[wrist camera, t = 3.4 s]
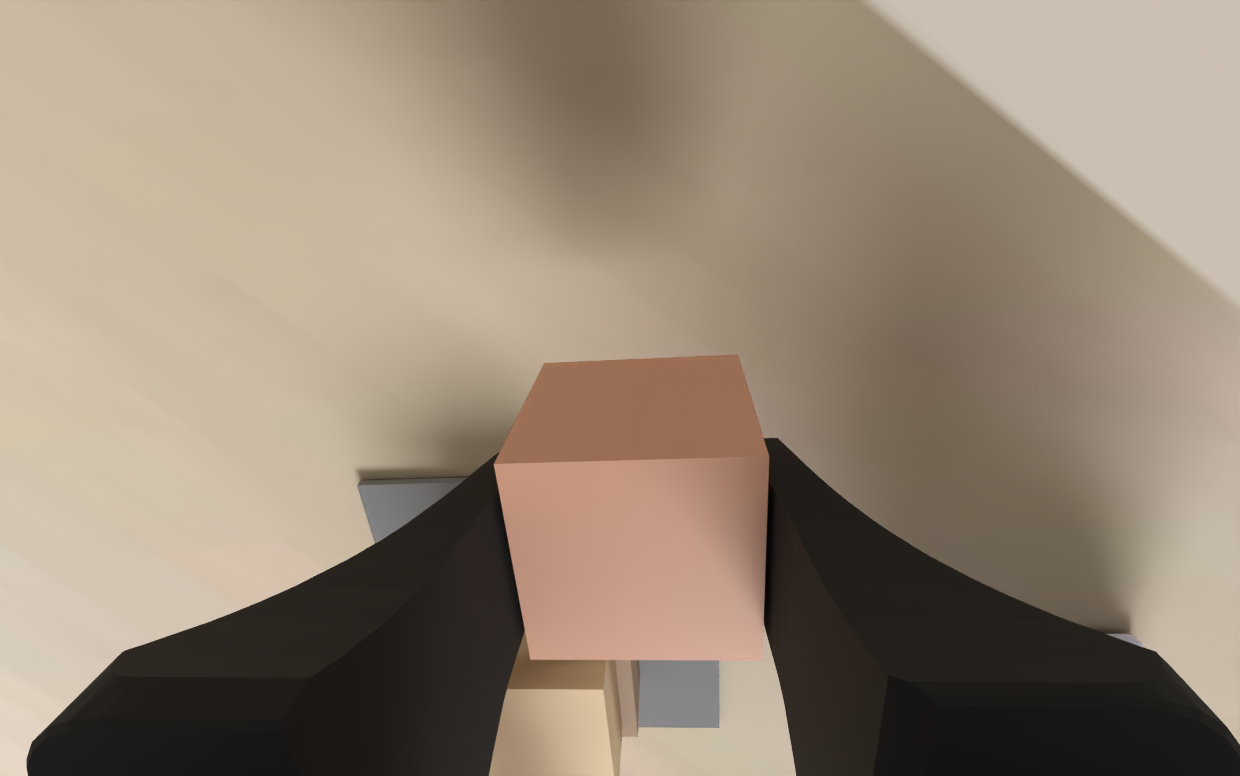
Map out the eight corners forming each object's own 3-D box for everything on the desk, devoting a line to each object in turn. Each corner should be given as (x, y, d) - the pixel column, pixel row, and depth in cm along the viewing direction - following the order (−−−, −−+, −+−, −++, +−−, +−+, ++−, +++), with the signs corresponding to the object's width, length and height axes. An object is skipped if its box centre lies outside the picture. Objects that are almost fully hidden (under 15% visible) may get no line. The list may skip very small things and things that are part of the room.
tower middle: (610, 618, 18) (603, 689, 16) (622, 727, 20) (617, 803, 18) (454, 619, 19) (425, 689, 16) (481, 725, 21) (459, 800, 19)
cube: (737, 354, 12) (768, 456, 8) (736, 516, 14) (762, 660, 10) (544, 363, 12) (493, 464, 9) (565, 519, 14) (530, 659, 10)
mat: (716, 470, 19) (717, 474, 19) (718, 721, 24) (719, 727, 24) (361, 480, 20) (357, 485, 20) (433, 718, 25) (431, 724, 25)
